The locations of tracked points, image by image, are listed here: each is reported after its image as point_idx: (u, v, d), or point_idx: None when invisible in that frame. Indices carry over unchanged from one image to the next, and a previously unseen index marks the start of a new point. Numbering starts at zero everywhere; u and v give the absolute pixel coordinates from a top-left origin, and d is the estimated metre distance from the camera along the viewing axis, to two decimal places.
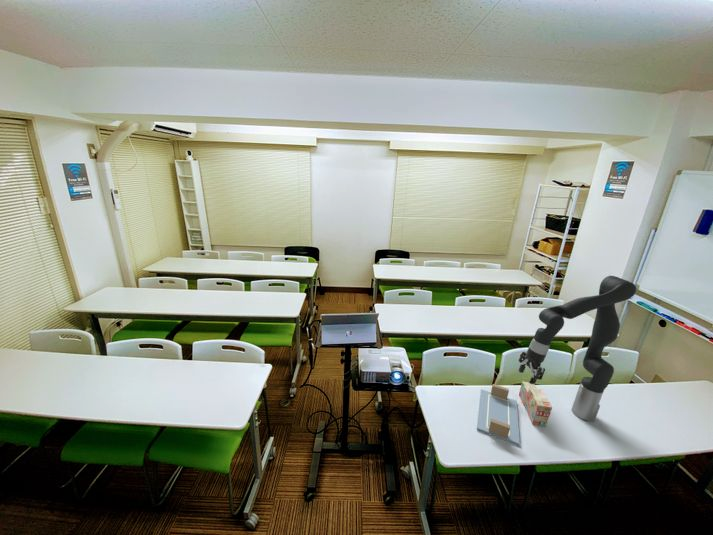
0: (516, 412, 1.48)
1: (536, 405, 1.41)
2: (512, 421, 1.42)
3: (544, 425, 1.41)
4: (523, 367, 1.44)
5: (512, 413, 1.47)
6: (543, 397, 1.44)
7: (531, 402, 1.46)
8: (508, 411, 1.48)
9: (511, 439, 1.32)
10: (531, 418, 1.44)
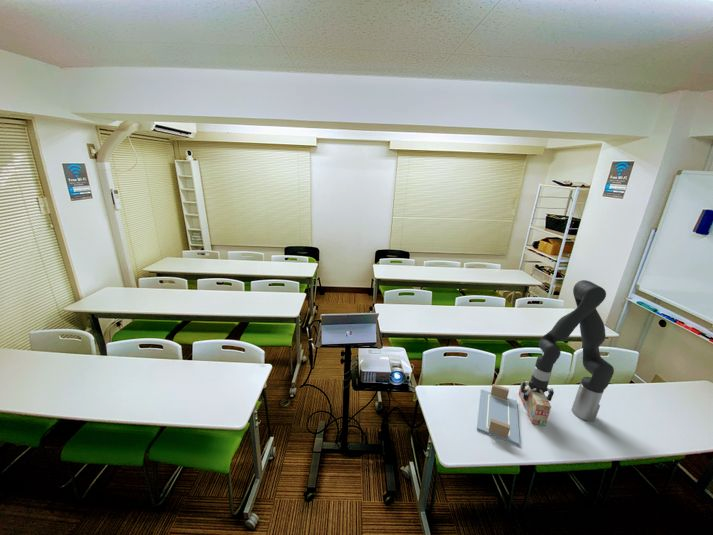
0: (516, 412, 1.48)
1: (535, 404, 1.41)
2: (512, 421, 1.42)
3: (543, 424, 1.42)
4: None
5: (512, 413, 1.47)
6: (542, 396, 1.44)
7: (530, 401, 1.46)
8: (508, 411, 1.48)
9: (511, 439, 1.32)
10: (530, 417, 1.44)
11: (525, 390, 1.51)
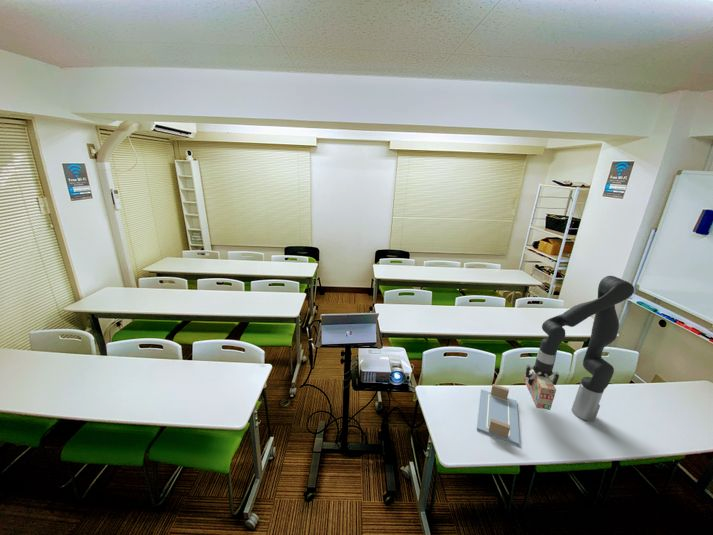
0: (516, 412, 1.48)
1: (540, 387, 1.38)
2: (512, 421, 1.42)
3: (548, 408, 1.39)
4: None
5: (512, 413, 1.47)
6: (547, 380, 1.41)
7: (535, 385, 1.44)
8: (508, 411, 1.48)
9: (511, 439, 1.32)
10: (535, 401, 1.42)
11: (530, 375, 1.48)
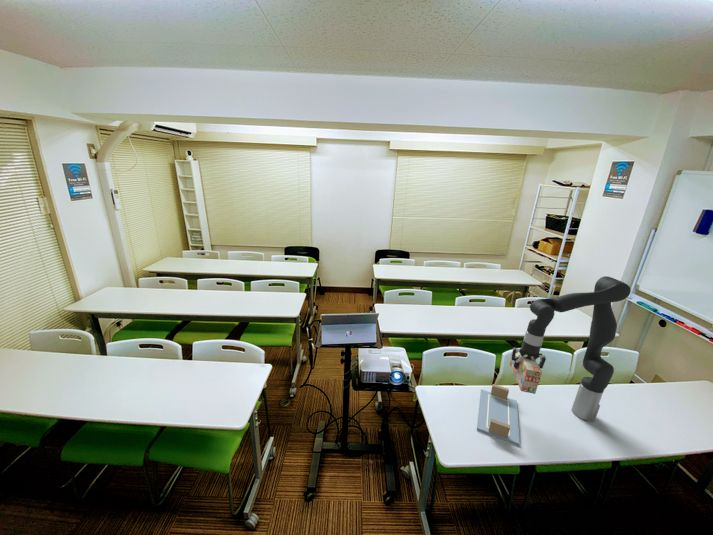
0: (516, 412, 1.48)
1: (525, 370, 1.33)
2: (512, 421, 1.42)
3: (533, 392, 1.33)
4: (517, 363, 1.42)
5: (512, 413, 1.47)
6: (533, 363, 1.35)
7: (521, 368, 1.38)
8: (508, 411, 1.48)
9: (511, 439, 1.32)
10: (520, 384, 1.36)
11: (516, 358, 1.42)
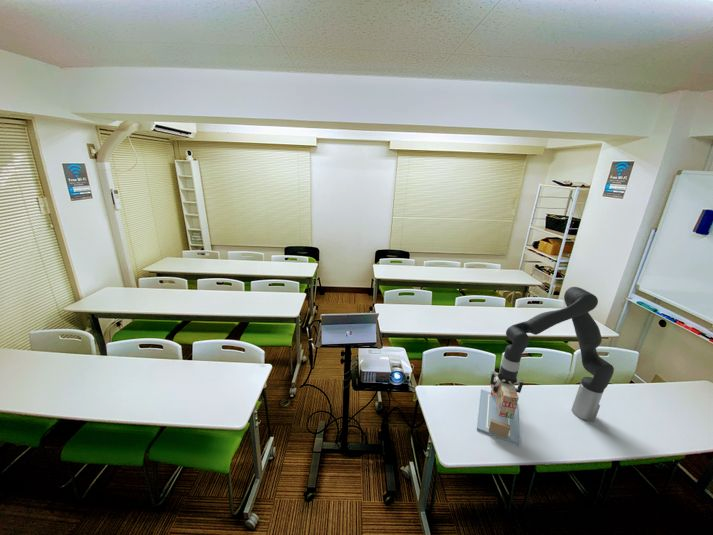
0: (516, 412, 1.48)
1: (503, 395, 1.34)
2: (512, 421, 1.42)
3: (511, 417, 1.34)
4: (496, 386, 1.44)
5: None
6: (511, 388, 1.37)
7: (499, 393, 1.39)
8: None
9: (511, 439, 1.32)
10: (498, 409, 1.37)
11: (495, 382, 1.44)
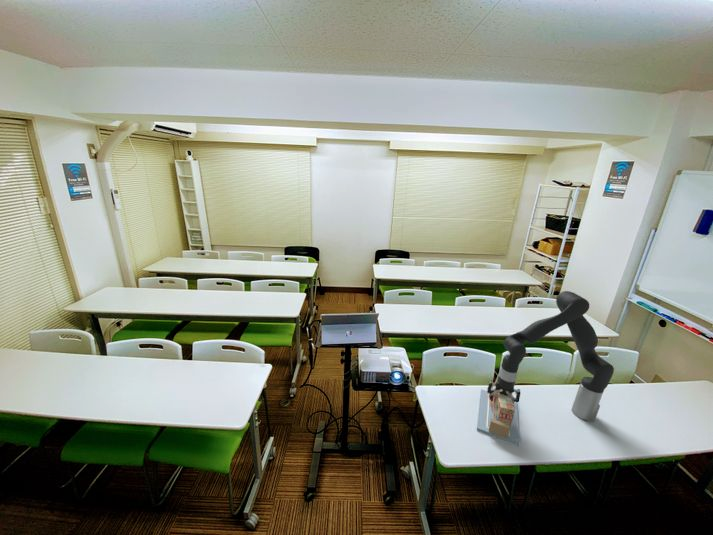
0: (516, 412, 1.48)
1: (499, 407, 1.36)
2: (512, 421, 1.42)
3: None
4: (493, 395, 1.45)
5: None
6: (508, 399, 1.39)
7: (496, 404, 1.41)
8: None
9: (511, 439, 1.32)
10: None
11: (491, 390, 1.46)
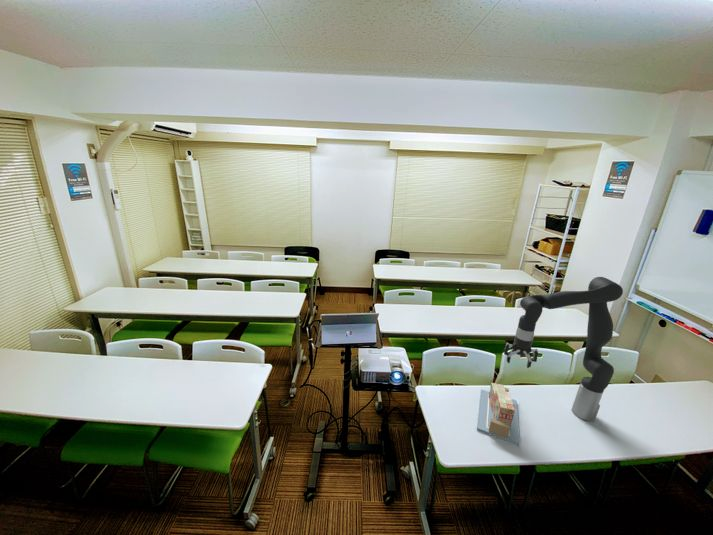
0: (516, 412, 1.48)
1: (499, 407, 1.36)
2: (512, 421, 1.42)
3: None
4: None
5: None
6: (508, 399, 1.39)
7: (496, 404, 1.41)
8: None
9: (511, 439, 1.32)
10: None
11: (508, 352, 1.46)
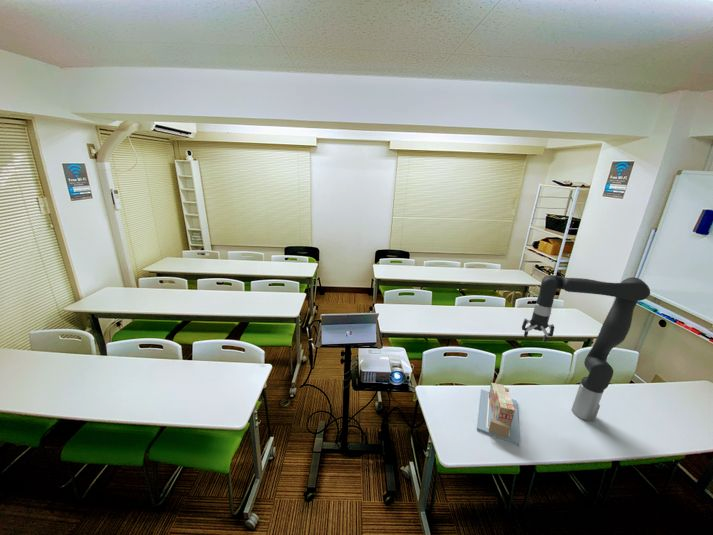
0: (516, 412, 1.48)
1: (499, 407, 1.36)
2: (512, 421, 1.42)
3: None
4: (527, 332, 1.57)
5: None
6: (508, 399, 1.39)
7: (496, 404, 1.41)
8: None
9: (511, 439, 1.32)
10: None
11: (526, 328, 1.57)
